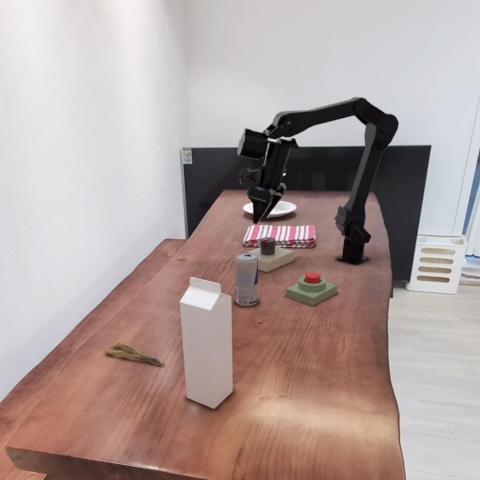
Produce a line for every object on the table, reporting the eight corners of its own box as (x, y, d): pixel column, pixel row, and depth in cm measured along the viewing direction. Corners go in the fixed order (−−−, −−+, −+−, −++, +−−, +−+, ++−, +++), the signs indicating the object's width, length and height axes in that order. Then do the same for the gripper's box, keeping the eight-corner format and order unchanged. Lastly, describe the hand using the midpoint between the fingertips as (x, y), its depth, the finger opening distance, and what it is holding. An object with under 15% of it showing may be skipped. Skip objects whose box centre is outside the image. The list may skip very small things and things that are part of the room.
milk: (205, 381, 86) (200, 270, 76) (233, 392, 83) (231, 277, 73) (185, 398, 82) (177, 282, 72) (214, 410, 79) (209, 290, 69)
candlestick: (239, 225, 173) (239, 145, 159) (245, 208, 194) (245, 136, 181) (296, 225, 169) (300, 144, 156) (295, 208, 190) (299, 134, 177)
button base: (310, 284, 122) (311, 270, 120) (336, 293, 117) (338, 278, 115) (285, 296, 117) (286, 281, 115) (312, 306, 111) (313, 290, 109)
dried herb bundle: (157, 369, 91) (156, 360, 90) (104, 357, 97) (102, 349, 96) (168, 358, 94) (167, 349, 93) (116, 347, 100) (114, 339, 99)
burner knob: (266, 249, 139) (267, 235, 137) (278, 252, 136) (278, 238, 134) (257, 252, 137) (257, 238, 135) (268, 256, 134) (268, 241, 132)
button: (310, 277, 117) (311, 271, 116) (322, 281, 115) (323, 274, 114) (301, 281, 115) (302, 275, 114) (314, 285, 113) (314, 279, 112)
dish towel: (316, 248, 146) (316, 237, 145) (242, 247, 151) (242, 236, 150) (315, 232, 161) (315, 222, 160) (247, 231, 166) (247, 221, 164)
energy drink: (259, 298, 116) (260, 253, 111) (254, 308, 112) (255, 260, 106) (238, 296, 118) (238, 251, 112) (233, 305, 114) (232, 259, 108)
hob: (267, 253, 145) (268, 243, 143) (293, 260, 138) (294, 250, 136) (241, 263, 138) (241, 253, 137) (266, 272, 131) (267, 261, 130)
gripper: (256, 154, 132) (242, 208, 139) (235, 157, 116) (221, 217, 123) (293, 164, 129) (278, 219, 136) (277, 168, 113) (261, 230, 120)
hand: (259, 221), depth 129 cm, fingers open, 9 cm apart
